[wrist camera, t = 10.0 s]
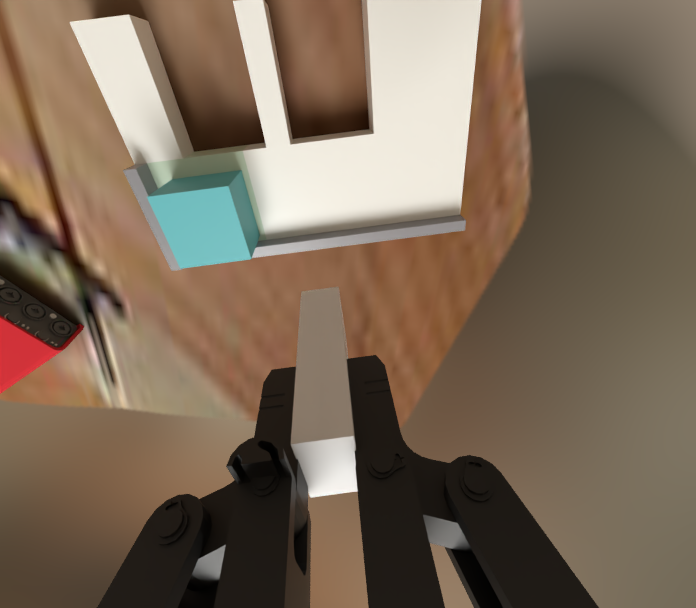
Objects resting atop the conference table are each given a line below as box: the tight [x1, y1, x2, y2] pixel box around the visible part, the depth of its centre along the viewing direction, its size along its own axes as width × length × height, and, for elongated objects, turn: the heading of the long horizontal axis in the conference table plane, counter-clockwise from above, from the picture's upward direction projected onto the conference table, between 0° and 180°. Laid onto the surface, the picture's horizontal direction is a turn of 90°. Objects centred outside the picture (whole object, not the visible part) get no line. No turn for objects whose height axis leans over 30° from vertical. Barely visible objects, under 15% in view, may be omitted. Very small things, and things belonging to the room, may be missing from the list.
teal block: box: [147, 170, 260, 269], centre depth 27 cm, size 6×6×5 cm
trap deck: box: [70, 0, 481, 271], centre depth 27 cm, size 18×28×5 cm, turn 96°
